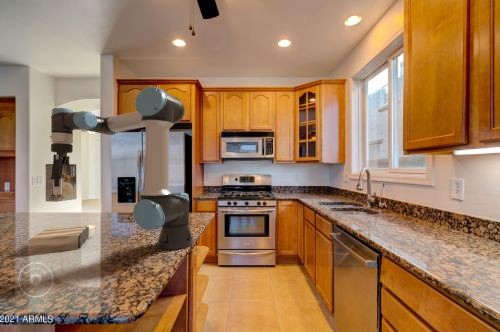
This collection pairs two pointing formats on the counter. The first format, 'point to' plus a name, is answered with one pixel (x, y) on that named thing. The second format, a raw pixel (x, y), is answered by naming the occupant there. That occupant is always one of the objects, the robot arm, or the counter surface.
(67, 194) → the coffee box
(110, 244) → the counter surface
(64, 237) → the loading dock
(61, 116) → the robot arm
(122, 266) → the counter surface
